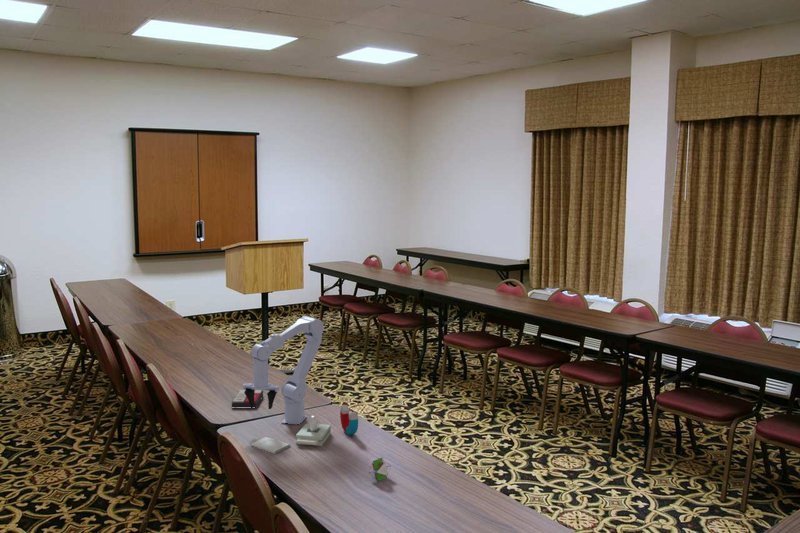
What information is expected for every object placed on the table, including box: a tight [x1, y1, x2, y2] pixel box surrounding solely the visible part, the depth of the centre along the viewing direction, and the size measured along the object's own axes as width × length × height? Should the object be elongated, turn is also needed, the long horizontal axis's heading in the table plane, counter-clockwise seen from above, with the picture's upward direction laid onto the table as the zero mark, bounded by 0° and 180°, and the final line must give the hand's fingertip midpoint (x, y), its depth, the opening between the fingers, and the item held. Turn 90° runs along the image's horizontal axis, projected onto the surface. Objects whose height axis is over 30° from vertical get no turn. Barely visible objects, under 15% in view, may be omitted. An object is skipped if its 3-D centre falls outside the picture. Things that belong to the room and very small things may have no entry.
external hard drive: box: [250, 436, 291, 455], centre depth 235 cm, size 2×8×12 cm
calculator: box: [231, 389, 264, 408], centre depth 281 cm, size 11×4×15 cm
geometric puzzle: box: [368, 457, 392, 482], centre depth 209 cm, size 7×7×8 cm
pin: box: [309, 414, 318, 433], centre depth 241 cm, size 3×3×9 cm
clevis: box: [295, 422, 332, 447], centre depth 241 cm, size 14×10×4 cm
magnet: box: [339, 404, 359, 436], centre depth 247 cm, size 12×3×10 cm, turn 29°
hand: (261, 407), depth 248 cm, fingers open, 7 cm apart
